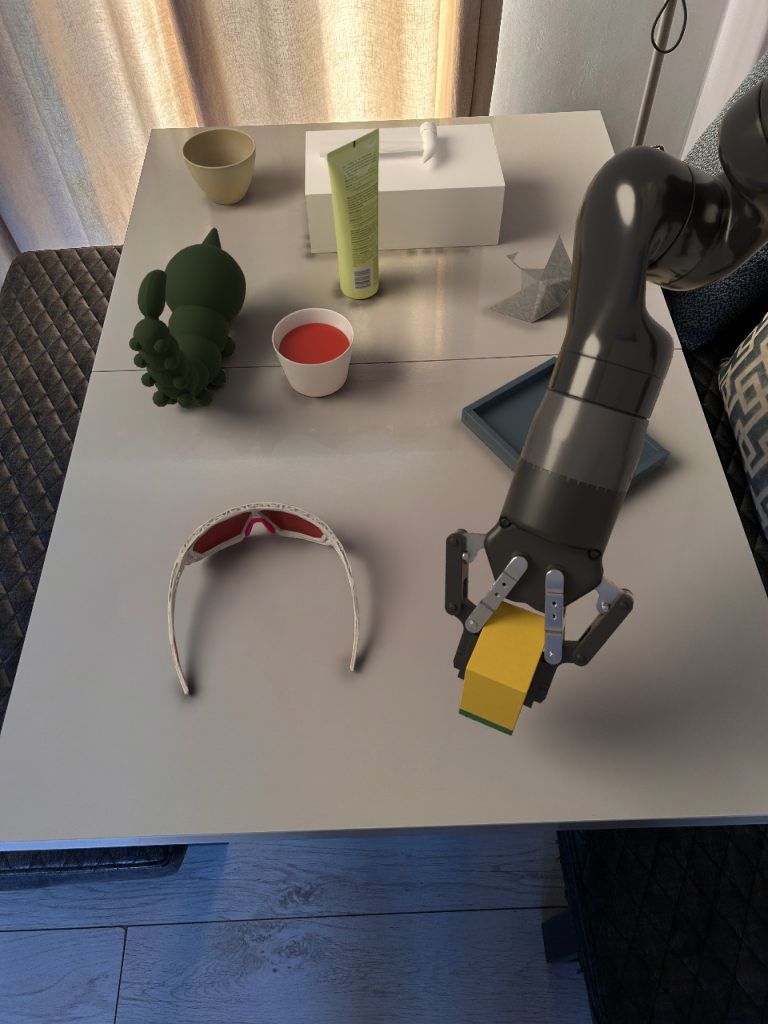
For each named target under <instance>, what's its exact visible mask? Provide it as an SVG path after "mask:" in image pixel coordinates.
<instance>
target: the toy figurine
mask: <svg viewBox="0 0 768 1024" xmlns="http://www.w3.org/2000/svg"><path fill="white" fill-rule="evenodd" d="M246 281H247V280H246V277H245V273H244V272H243V270H242V267H241V266H240V265H239V263H238V261H237V260H236V259H235V258H234V257H233V256H232V255H231V254H230V253H229V252H227V251H226V250H224V249H223V247H222V243H221V240H220V235H219V230H218V229H217V228H216V227H212V228H211V229H210V230H209V232H208V234H207V235H206V237H205V238H204V239H203V241H202V243H196V244H191V245H187V246H186V247H184V248H182V249H180V250H179V251H178V252H176V253H175V254H174V255H173V257H172V258H170V259H169V261H168V263H167V264H166V267H165V269H164V270H162V269H153V270H151V271H149V272H148V273H147V274H146V275H145V276H144V277H143V278H142V280H141V283H140V286H139V288H138V293H137V307H138V309H139V312H140V313H141V314H142V316H143V319H140V320H139V321H138V322H137V323H136V325H135V326H134V327H133V332H132V338H130V339H129V341H128V346H129V348H130V349H131V350H132V351H133V352H134V351H135V352H138V353H136V354H135V355H134V357H133V359H132V360H133V364H134V365H135V366H136V367H137V368H140V369H146V371H147V372H144V373H143V374H142V375H141V378H140V382H141V384H142V385H143V386H144V387H146V388H151V387H154V386H155V388H156V389H157V391H155V392H153V395H152V398H151V400H152V402H153V404H154V405H155V406H157V407H159V408H165V407H166V406H167V405H172V406H173V405H177V404H178V405H179V406H180V407H181V408H182V409H189V408H191V407H193V406H194V404H195V403H196V405H198V406H200V407H205V408H207V407H210V405H212V403H213V402H214V394H213V392H212V391H211V390H209V389H208V388H207V387H208V385H210V384H211V385H213V386H216V387H220V386H223V385H224V384H225V383H226V382H227V378H228V377H227V376H228V375H227V373H226V371H225V369H224V368H222V363H223V362H222V358H223V357H224V358H230V357H233V355H234V353H235V352H236V349H237V345H236V344H237V343H236V340H234V338H233V337H231V336H230V329H229V328H230V327H229V323H231V322H232V321H233V320H235V318H236V317H238V315H239V314H240V312H241V310H242V309H243V306H244V303H245V300H246V295H247V294H246V293H247V282H246ZM166 306H167V307H168V309H169V310H170V312H171V314H170V316H169V319H168V325H167V324H166V323H165V322H164V321H163V320H162V319H161V320H160V317H161V316H162V314H163V313H164V310H165V308H166Z"/></svg>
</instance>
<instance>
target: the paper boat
mask: <svg viewBox="0 0 768 1024" xmlns="http://www.w3.org/2000/svg"><path fill="white" fill-rule="evenodd" d="M518 253H519V251H516V252H513V253H510V254H507V255H506V258H507V259H509V261H511V262H512V263H513V264H514V265H515V266H516V267H517V268H518V269H519V270H520V271H519V274H520V283H521V290H519V291H517V292H516V293H514V294H512V295H510V296H508V297H507V298H505V299H503V300H502V301H500V302H498V303H496V304H494V305H493V306H491V307H489V308H488V309H489V310H493V311H496V312H499V313H501V314H504V315H507V316H510V317H513V318H516V319H519V320H522V321H525V322H528V323H533V322H535V321H538V320H540V319H541V318H543V317H545V316H546V315H547V314H549V313H551V312H552V311H554V310H555V309H556V308H558V307H560V306H561V304H562V303H563V301H564V300H565V298H566V296H567V295H568V294H569V293H570V285H571V273H572V261H571V259H570V256H569V255H568V252H567V250H566V247H565V244H564V242H563V240H562V237H561V234H558V236H557V239H556V241H555V243H554V245H553V248H552V251H551V252H550V255H549V257H548V260H547V262H546V263H545V267H544V268H528V267H523V268H522V267H520V266H519V265H518V264H517V263H516V262H515V259H516V257H517V255H518Z"/></svg>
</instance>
